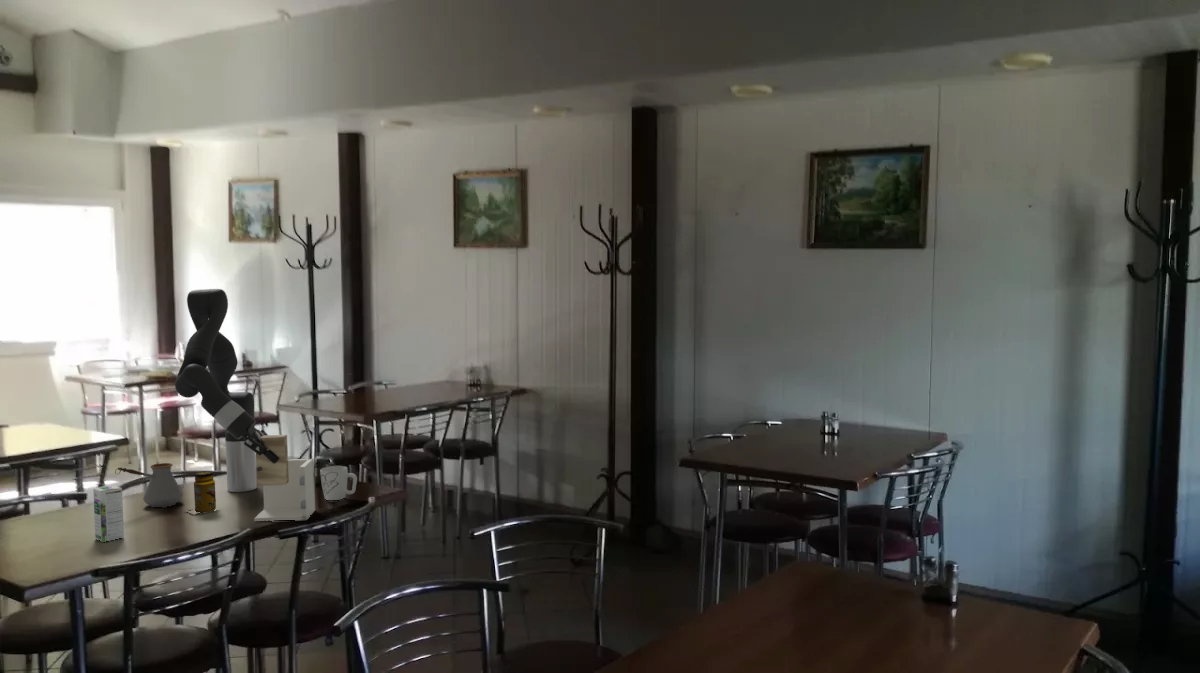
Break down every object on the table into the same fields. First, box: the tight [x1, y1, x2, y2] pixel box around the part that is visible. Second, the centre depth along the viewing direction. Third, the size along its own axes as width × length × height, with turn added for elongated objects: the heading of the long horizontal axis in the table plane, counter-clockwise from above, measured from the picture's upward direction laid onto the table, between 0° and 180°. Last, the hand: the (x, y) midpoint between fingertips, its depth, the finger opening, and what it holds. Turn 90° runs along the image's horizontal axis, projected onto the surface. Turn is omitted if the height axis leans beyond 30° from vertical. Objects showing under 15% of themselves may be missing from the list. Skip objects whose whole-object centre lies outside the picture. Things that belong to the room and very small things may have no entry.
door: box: [255, 434, 289, 487], centre depth 273 cm, size 5×8×14 cm, turn 94°
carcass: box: [254, 458, 316, 522], centre depth 281 cm, size 14×15×16 cm
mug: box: [319, 465, 358, 501], centre depth 302 cm, size 11×8×10 cm
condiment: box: [184, 470, 217, 515], centre depth 290 cm, size 7×8×12 cm
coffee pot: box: [114, 462, 184, 508], centre depth 294 cm, size 21×12×15 cm, turn 153°
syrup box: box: [92, 485, 125, 543], centre depth 260 cm, size 6×6×14 cm
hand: (279, 459), depth 273 cm, fingers closed on door, 4 cm apart
